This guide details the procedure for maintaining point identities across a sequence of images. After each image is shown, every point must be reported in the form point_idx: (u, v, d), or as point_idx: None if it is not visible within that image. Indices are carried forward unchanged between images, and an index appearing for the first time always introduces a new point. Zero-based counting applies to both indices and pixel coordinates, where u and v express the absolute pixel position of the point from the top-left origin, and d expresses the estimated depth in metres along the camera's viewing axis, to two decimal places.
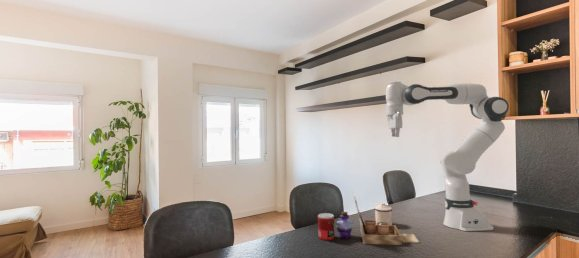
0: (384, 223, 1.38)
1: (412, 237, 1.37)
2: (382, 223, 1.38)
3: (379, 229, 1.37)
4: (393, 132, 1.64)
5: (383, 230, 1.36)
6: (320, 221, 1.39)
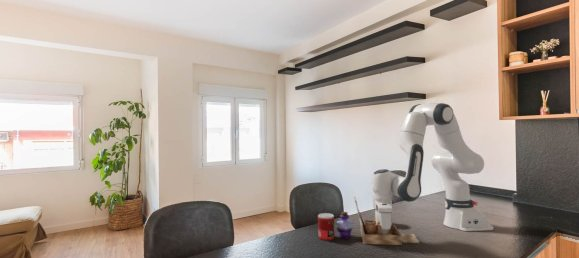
0: None
1: (412, 237, 1.37)
2: None
3: (379, 229, 1.37)
4: None
5: None
6: (320, 221, 1.39)
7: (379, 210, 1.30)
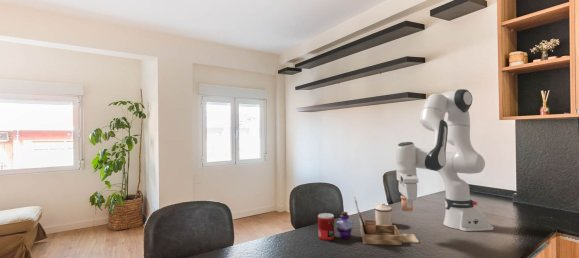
0: None
1: (412, 237, 1.37)
2: None
3: (403, 201, 1.36)
4: None
5: None
6: (320, 221, 1.39)
7: (404, 181, 1.29)
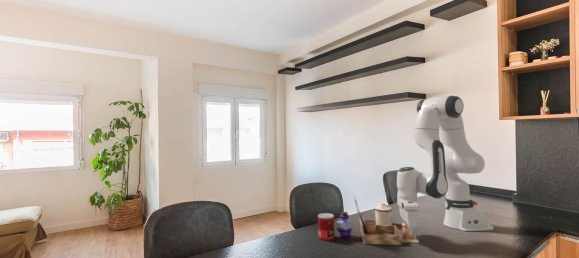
0: None
1: None
2: None
3: (404, 229, 1.36)
4: None
5: None
6: (320, 221, 1.39)
7: (405, 208, 1.29)
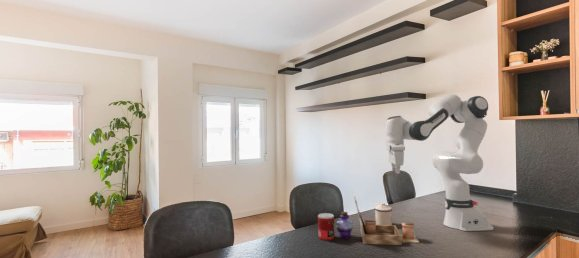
0: (409, 223, 1.37)
1: None
2: (407, 223, 1.37)
3: (404, 229, 1.36)
4: None
5: (408, 230, 1.35)
6: (320, 221, 1.39)
7: (393, 149, 1.46)
